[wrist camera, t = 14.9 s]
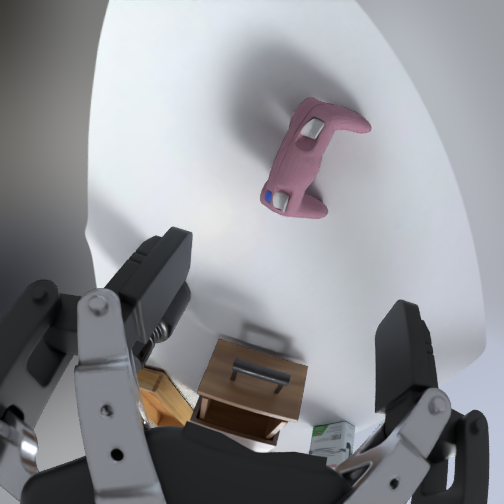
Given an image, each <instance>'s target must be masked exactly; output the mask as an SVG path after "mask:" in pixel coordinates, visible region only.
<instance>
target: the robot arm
mask: <svg viewBox="0 0 504 504" xmlns="http://www.w3.org/2000/svg"><path fill="white" fill-rule="evenodd" d="M191 249H192V232H189V231H186V230H183V229H180V228H177V227H171V228H170V229H169V230H168V231H167V232H166V233H165V235H164V236H163V237H159V236H154V237H152V238H150V239H148V240H146V241H144V242H143V243H142V244H141V245H140V247H139V248H138V249H137V250H136V252H134V253H133V254H132V256H131V257H130V258H129V260H127V261H126V262H125V264H124V265H123V266H122V267H121V268H120V269H119V271H118V272H117V273H116V274H115V275H114V277H113V278H112V279H111V280H110V281H109V283H108V284H107V285H106V286H105V287H104V288H97V289H93V290H90V291H88V292H87V293H85V294H84V295H83V296H74V295H67V294H61V293H59V291H58V288H57V286H56V285H55V284H54V283H53V282H52V281H50V280H38V281H35V282H33V283H32V284H30V285H29V286H28V287H27V288H26V289H25V290H24V292H23V293H22V294H21V295H20V297H19V298H18V299H17V300H16V301H15V303H14V304H13V305H12V307H11V308H10V309H9V310H8V312H7V313H6V314H5V316H4V317H3V318H2V320H1V321H0V486H1V487H3V488H4V489H5V490H6V491H7V492H8V493H10V494H11V495H12V496H13V497H15V498H16V499H17V500H18V501H20V504H406V503H407V501H408V500H409V499H410V497H411V496H412V499H411V504H487V499H488V485H489V434H488V423H487V420H486V418H485V416H484V415H483V414H482V413H481V412H480V411H478V410H472V411H471V412H469V413H468V414H466V415H463V414H460V413H459V412H457V411H455V410H453V409H451V403H450V400H449V398H448V396H447V395H446V394H445V393H444V392H443V391H442V390H440V389H438V382H437V374H436V367H435V360H434V355H433V348H432V346H431V344H432V342H431V337H430V332H429V330H428V328H427V326H426V324H425V322H424V321H423V320H421V317H420V312H419V308H418V305H416V304H413V303H410V302H407V301H404V300H398V301H397V302H396V303H395V304H394V306H393V307H392V309H391V310H390V311H389V313H388V314H387V315H386V317H385V318H384V319H383V320H382V322H381V323H380V324H379V326H378V328H377V331H376V335H375V355H376V395H375V413H381V414H386V415H385V420H384V421H382V422H381V423H380V424H379V426H378V427H377V428H376V429H375V430H374V431H373V433H372V434H371V435H370V436H369V437H368V438H367V440H366V441H365V442H364V443H363V444H362V445H361V446H360V447H359V448H358V449H357V450H356V452H355V453H354V454H353V455H351V456H350V457H349V458H348V459H346V460H345V461H343V462H342V463H341V464H339V465H338V466H337V467H336V468H334V469H333V468H331V467H329V466H327V465H326V463H327V457H322V456H315V455H309V454H304V453H298V452H270V453H269V452H255V451H253V450H251V449H249V448H247V447H245V446H244V445H242V444H240V443H238V442H236V441H235V440H233V439H231V438H229V437H228V436H226V435H224V434H223V433H220V432H217V431H214V430H211V429H208V428H205V427H202V426H200V425H197V424H194V423H191V422H189V421H186V423H185V426H184V427H180V426H160V427H155V428H150V424H149V420H148V417H147V413H146V410H145V406H144V403H143V400H142V396H141V392H140V388H139V383H138V379H137V374H136V369H135V364H134V359H133V354H132V347H133V346H134V344H135V342H136V341H137V340H138V341H140V342H142V343H144V344H146V343H147V342H148V340H149V338H150V337H151V335H152V333H153V332H154V330H155V328H156V326H157V325H158V323H159V321H160V320H161V318H162V316H163V315H164V313H165V311H166V310H167V308H168V307H169V305H170V303H171V302H172V300H173V298H174V297H175V295H176V293H177V292H178V290H179V289H180V287H181V285H182V284H183V282H184V281H185V279H186V277H187V275H188V272H189V268H190V263H191ZM74 355H77V356H79V363H78V365H76V366H75V369H74V381H75V391H76V400H77V408H78V415H79V421H80V428H81V433H82V439H83V444H84V449H85V453H86V456H84V457H81V458H78V459H75V460H73V461H70V462H67V463H65V464H62V465H59V466H56V467H53V468H50V469H47V470H44V471H41V472H39V470H38V468H37V465H36V453H37V451H38V442H37V437H36V434H35V432H34V428H35V426H36V423H37V421H38V420H39V418H40V415H41V414H42V412H43V409H44V408H45V406H46V404H47V402H48V400H49V398H50V396H51V394H52V393H53V391H54V389H55V387H56V385H57V383H58V382H59V380H60V378H61V376H62V375H63V373H64V371H65V369H66V367H67V366H68V364H69V362H70V361H71V359H72V357H73V356H74ZM454 456H455V475H454V482H453V484H452V486H451V487H450V488H449V489H448V490H446V485H447V473H448V459H450V458H452V457H454Z"/></svg>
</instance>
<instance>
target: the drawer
mask: <svg viewBox="0 0 504 504" xmlns="http://www.w3.org/2000/svg"><path fill="white" fill-rule="evenodd" d="M307 369H308V366H306V365H302V364H298V363H295V362H291V361H288V360H284V359H281V358H277V357H274V356H270V355H267V354H264V353H261V352H257V351H254V350H251V349H248V348H245V347H242V346H239V345H236V344H233V343H230V342H227V341H224V340H221V339H219V340H218V342H217V345H216V347H215V349H214V352H213V354H212V357H211V359H210V361H209V364H208V366H207V369H206V371H205V373H204V376H203V378H202V381H201V383H200V385H199V388H198V391H197V394H200V395H203V397H202V403H201V411H200V418H199V419H200V420H203V421H206V422H209V423H212V424H215V425H218V426H221V427H224V428H227V429H230V430H234V431H237V432H240V433H244V434H247V435H251V436H255V437H258V438H262V439H266V440H269V439H270V438H271V437H272V436H273V435H275V434H276V433H277V432H278V431H279V430H280V429H281V428H282V427H284V426H285V425H286V424H287V423H288V421H290V422H294V423H295V422H296V421H298V418H299V413H300V408H301V403H302V397H303V392H304V386H305V381H306V375H307Z"/></svg>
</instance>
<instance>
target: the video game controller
mask: <svg viewBox="0 0 504 504" xmlns="http://www.w3.org/2000/svg"><path fill="white" fill-rule="evenodd" d="M335 130H348V131H352V132H357V133H368V132H370V131H371V125H370V123H369V122H368V121H367V120H366V119H365V118H364V117H362V116H361V115H359V114H358V113H356V112H354V111H352V110H349V109H347V108H345V107H342V106H338V105H334V104H329V103H325V102H321V101H319V100H317V99H315V98H308V99H306V100H304V101H303V102H302V103H301V104H300V105H299V106H298V108H297V109H296V110H295V111H294V112H293V114H292V118H291V122H290V125H289V131H288V133H287V135H286V137H285V138H284V140H283V142H282V144H281V146H280V149H279V151H278V153H277V156H276V158H275V160H274V163H273V166H272V169H271V171H270V175H269V178H268V181H267V182H266V183H265V185H264V187H263V189H262V191H261V194H260V201H261V203H262V204H263V205H265V206H266V207H267V208H269V209H270V210H272V211H273V212H276V213H278V214H280V215H282V216H287V217H300V218H311V219H319V218H322V217H325V216H326V215H327V213H328V209H327V207H326V205H325V204H324V203H322V202H321V201H320V200H318V199H317V198H315V197H313V196H310V195H307V194H305V191H306V189H307V187H308V186H309V185H310V184H311V183H312V182H313V180H314V179H315V177H316V176H317V174H318V172H319V168H320V164H321V159H322V155H323V153H324V151H325V149H326V147H327V145H328V143H329V141H330V139H331V137H332V135H333V133H334V132H335Z"/></svg>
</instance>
